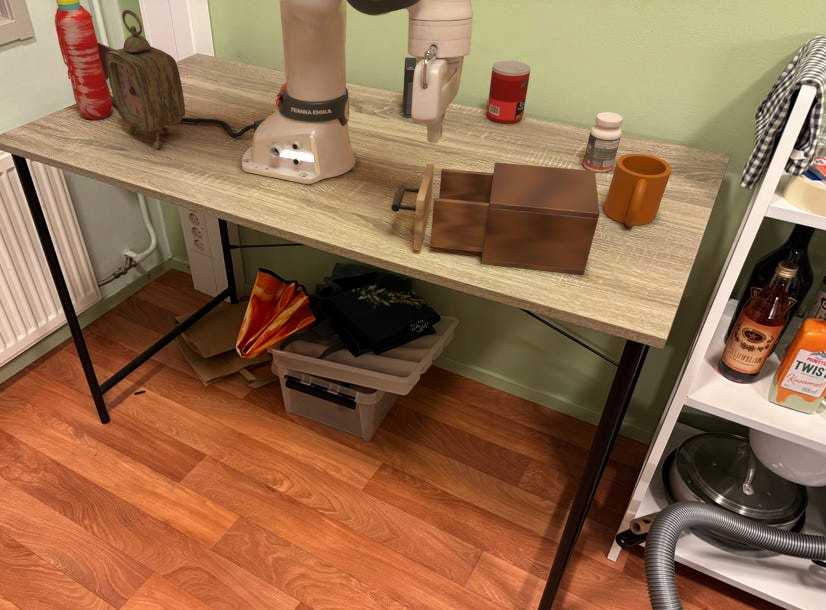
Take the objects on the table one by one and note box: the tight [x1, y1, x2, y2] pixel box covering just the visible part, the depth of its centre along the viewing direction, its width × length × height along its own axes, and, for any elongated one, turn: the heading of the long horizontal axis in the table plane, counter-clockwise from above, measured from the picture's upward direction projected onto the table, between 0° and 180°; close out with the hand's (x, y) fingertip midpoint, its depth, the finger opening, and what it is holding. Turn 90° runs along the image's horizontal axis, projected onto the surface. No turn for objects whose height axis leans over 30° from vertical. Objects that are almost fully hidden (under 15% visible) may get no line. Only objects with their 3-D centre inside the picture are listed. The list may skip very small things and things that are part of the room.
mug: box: [603, 153, 673, 228], centre depth 116 cm, size 9×12×9 cm
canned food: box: [486, 60, 531, 125], centre depth 148 cm, size 8×8×11 cm
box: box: [402, 56, 417, 118], centre depth 151 cm, size 8×6×11 cm
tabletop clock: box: [105, 9, 186, 150], centre depth 137 cm, size 14×9×25 cm, turn 42°
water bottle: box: [54, 0, 116, 121], centre depth 147 cm, size 12×8×25 cm, turn 145°
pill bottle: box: [582, 111, 623, 173], centre depth 130 cm, size 6×6×10 cm
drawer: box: [390, 163, 494, 253], centre depth 110 cm, size 19×13×9 cm, turn 78°
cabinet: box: [480, 161, 601, 276], centre depth 108 cm, size 16×14×11 cm
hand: (434, 140), depth 103 cm, fingers closed
